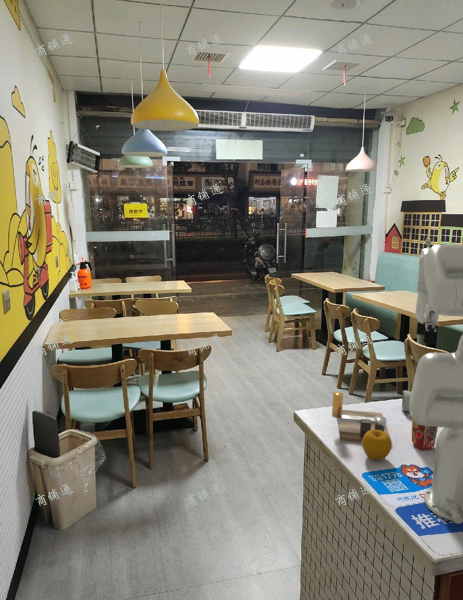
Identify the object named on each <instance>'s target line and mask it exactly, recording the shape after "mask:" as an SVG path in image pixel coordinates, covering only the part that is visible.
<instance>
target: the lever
mask: <svg viewBox="0 0 463 600" xmlns="http://www.w3.org/2000/svg"><path fill="white" fill-rule="evenodd" d="M343 399H344V394H343V392H340V391H334V392H333V395H332V409H331V410H332V412H331V416H332V417H333V418H335V419H336V421H337V422H338V421H343V422H354V423H361V419H370V420H371V424H374V425H375V426H377V427H385V426H386V427H387V418H386V417H384V416H383V417H382V416H375V417H374V418H372V417H360V416H349V415H342V410H343Z"/></svg>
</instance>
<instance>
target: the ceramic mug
mask: <svg viewBox="0 0 463 600" xmlns="http://www.w3.org/2000/svg"><path fill="white" fill-rule="evenodd" d="M411 392H412V391H409V390H403V392H402V393H403V394H402V403H401V411H402V412H409V413H410V411H409V403H410V397H411Z"/></svg>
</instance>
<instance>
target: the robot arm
mask: <svg viewBox="0 0 463 600" xmlns="http://www.w3.org/2000/svg"><path fill="white" fill-rule="evenodd" d="M417 275H418V276H417V286H416V292H418V293H417V298H416V305H415V306H416V307H415V312H414V318H415V319H416V320H417V323H416V335H420V336H423V343H424V344H428V345H429V344H431V345H432V344H433V345H434V344H435V343H436V334H437V324H438V322H439V316H440V315H441V316H444V317H445V316H446V317H463V244H436V245H433V246H430V247H427V248H426V247H425V248H422V249H421V251H420V253H419V259H418V274H417ZM410 392H411V397H410V403H409V411H410V412H409V416H410V418H411V421H412V420H413V421H414V422H415V423H417V424H419V425H423V426H432V427H438V428H442V430H441V431H440V432H439V434H438V435H437V437H436V441H435V453H434V462H433V463H434V464H433V471H432V472H433V474H432V480H431V487H429V488H428V489H426V491H424V495H423V500H424V503H425V505H426V507H427V508H428V509H429V510H430V511H432V513H434V514H435V515H436V516H439V517H441V518H443V519H444V520H448V521H452V522H454V523H455V524H457V525H458V524H463V334H462V335H461V336H460V338H459V341H458V345H457V349H456V351H454V352H428V353H425V354H423V355H422V356H421V357H420V358H419V360H418V362H417V364H416V369H415V373H414V379H413V383H412V388H411V391H410Z"/></svg>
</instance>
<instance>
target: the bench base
mask: <svg viewBox="0 0 463 600" xmlns="http://www.w3.org/2000/svg"><path fill="white" fill-rule="evenodd" d="M342 415H349V416H360V417H372V418H374V417H375V416H382V417H384V416H383V413H382V412H374V411H365V410H364V411H363V410H362V411H361V410H350V409H342ZM337 427H338V434H339V441H340V442H348V443H350V442H352V443H360V444H362V440H363V437H364V435H365V433H366V432H367V431H369V430H381V431H383V432H385V433H386V434H388V435H389V437H390V433H389V429H388V427H387V425H386V426H385V427H377V426H375V425H374V424H371V420H370V419H361V423H354V422H343V421H337ZM390 438H391V437H390Z"/></svg>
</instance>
